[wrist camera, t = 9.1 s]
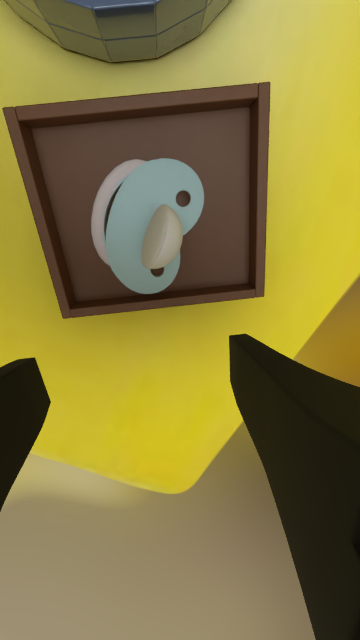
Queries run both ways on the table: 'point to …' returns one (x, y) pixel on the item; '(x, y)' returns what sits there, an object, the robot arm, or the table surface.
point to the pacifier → (145, 220)
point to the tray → (219, 195)
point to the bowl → (119, 24)
